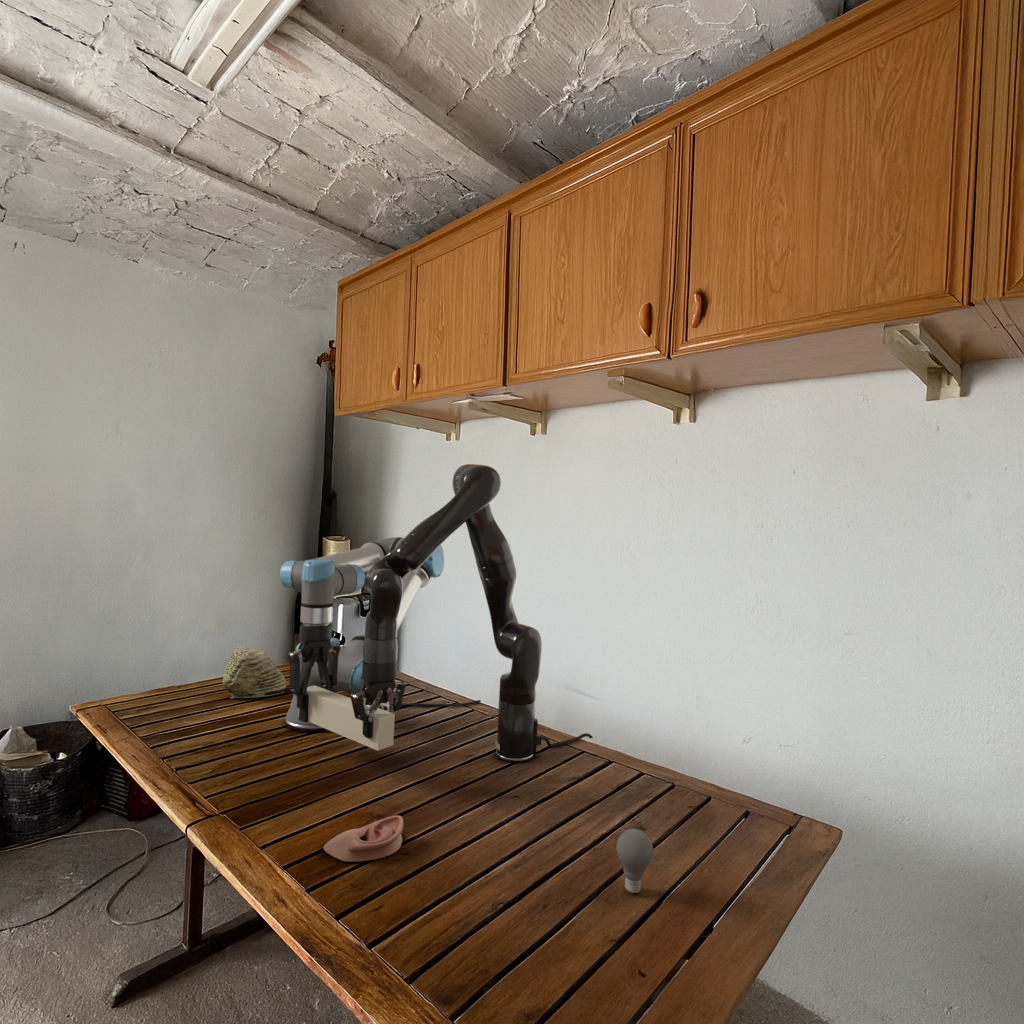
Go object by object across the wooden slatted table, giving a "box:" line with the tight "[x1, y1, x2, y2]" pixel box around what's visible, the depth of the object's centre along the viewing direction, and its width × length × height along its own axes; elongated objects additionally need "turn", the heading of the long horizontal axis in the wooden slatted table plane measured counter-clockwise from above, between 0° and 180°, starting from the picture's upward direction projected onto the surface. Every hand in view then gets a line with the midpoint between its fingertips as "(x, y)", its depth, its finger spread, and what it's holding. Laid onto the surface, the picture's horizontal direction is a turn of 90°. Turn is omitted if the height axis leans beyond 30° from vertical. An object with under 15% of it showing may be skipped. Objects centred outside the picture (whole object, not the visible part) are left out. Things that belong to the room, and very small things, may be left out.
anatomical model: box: [323, 815, 404, 863], centre depth 116 cm, size 13×4×12 cm
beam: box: [298, 685, 396, 752], centre depth 147 cm, size 30×4×7 cm, turn 52°
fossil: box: [222, 646, 288, 699], centre depth 198 cm, size 9×18×15 cm, turn 132°
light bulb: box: [615, 828, 654, 894], centre depth 106 cm, size 6×6×10 cm
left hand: (312, 718), depth 155 cm, fingers closed on beam, 4 cm apart
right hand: (377, 734), depth 140 cm, fingers closed on beam, 4 cm apart
